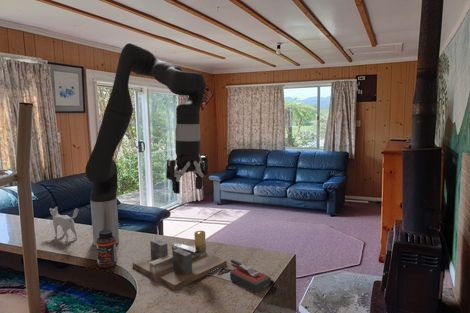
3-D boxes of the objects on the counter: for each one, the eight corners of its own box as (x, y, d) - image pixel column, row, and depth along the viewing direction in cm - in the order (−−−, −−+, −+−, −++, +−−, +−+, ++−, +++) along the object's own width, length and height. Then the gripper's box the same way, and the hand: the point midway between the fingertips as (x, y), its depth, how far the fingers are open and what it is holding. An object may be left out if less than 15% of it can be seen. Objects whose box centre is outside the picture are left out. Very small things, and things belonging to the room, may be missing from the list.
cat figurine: (59, 232, 144) (56, 199, 143) (85, 242, 133) (83, 206, 131) (48, 235, 141) (45, 201, 139) (74, 245, 129) (71, 209, 127)
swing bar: (169, 248, 110) (168, 226, 109) (176, 245, 112) (175, 224, 111) (200, 258, 102) (200, 235, 101) (207, 254, 105) (207, 231, 104)
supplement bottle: (96, 269, 110) (94, 235, 108) (98, 261, 115) (96, 229, 114) (116, 267, 111) (114, 233, 110) (117, 259, 117) (115, 227, 115)
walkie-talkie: (280, 285, 99) (233, 263, 114) (280, 271, 99) (233, 250, 113) (259, 296, 93) (213, 272, 108) (259, 281, 93) (212, 258, 107)
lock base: (132, 266, 111) (131, 244, 110) (183, 247, 127) (182, 227, 126) (175, 290, 97) (174, 264, 95) (226, 264, 112) (226, 242, 111)
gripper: (175, 141, 97) (176, 197, 99) (213, 138, 107) (213, 189, 109) (160, 139, 102) (161, 192, 104) (198, 137, 112) (198, 185, 114)
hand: (187, 191), depth 107 cm, fingers open, 8 cm apart
